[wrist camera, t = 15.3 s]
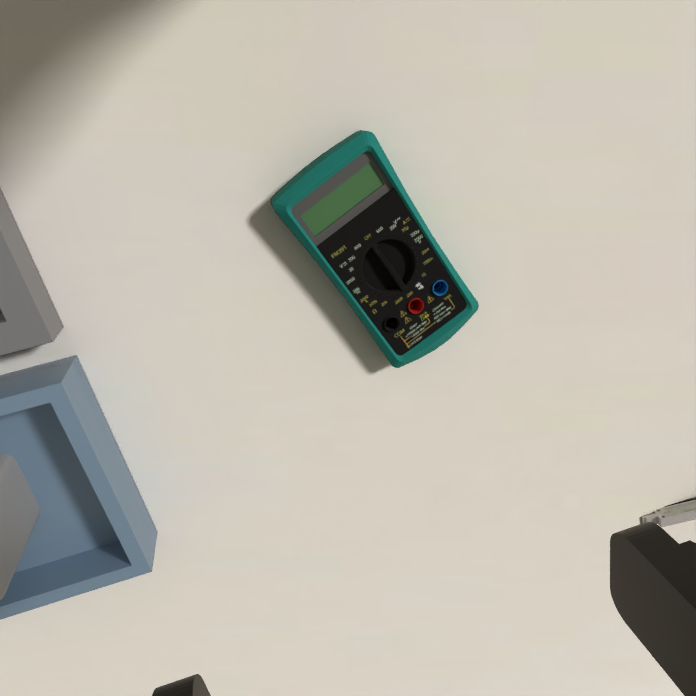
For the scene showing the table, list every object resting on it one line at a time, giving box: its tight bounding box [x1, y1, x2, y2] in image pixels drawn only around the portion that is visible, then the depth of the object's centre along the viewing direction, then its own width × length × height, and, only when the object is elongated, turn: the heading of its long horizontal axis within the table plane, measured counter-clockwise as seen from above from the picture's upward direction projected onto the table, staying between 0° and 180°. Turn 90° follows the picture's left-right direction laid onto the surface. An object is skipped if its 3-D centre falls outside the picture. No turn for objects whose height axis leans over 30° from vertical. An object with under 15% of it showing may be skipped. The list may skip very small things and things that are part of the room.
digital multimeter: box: [271, 130, 479, 368], centre depth 36 cm, size 7×15×3 cm, turn 35°
